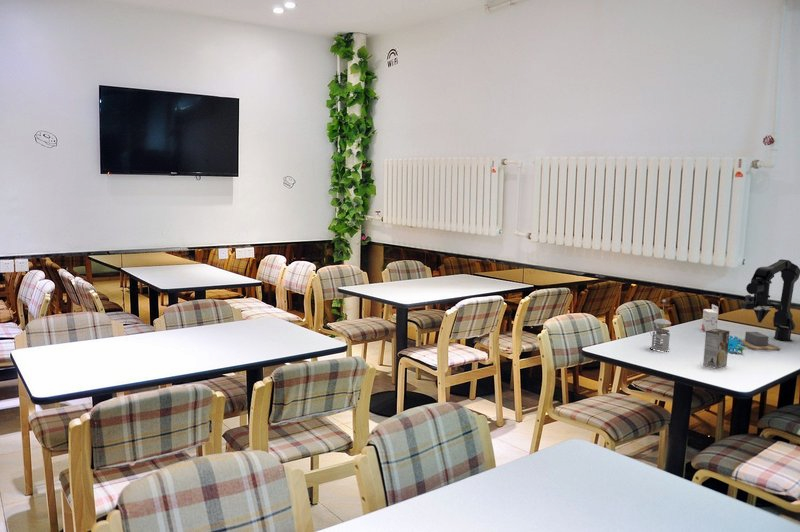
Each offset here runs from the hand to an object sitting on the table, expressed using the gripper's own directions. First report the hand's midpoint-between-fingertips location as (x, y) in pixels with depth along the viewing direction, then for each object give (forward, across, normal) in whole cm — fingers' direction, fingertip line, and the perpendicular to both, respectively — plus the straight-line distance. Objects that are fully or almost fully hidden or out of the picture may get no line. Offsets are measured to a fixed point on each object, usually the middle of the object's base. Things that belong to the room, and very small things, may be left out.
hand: (759, 322), depth 334 cm
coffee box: (+11, +43, +39) cm, 59 cm away
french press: (+11, +57, +12) cm, 59 cm away
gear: (+12, +22, +15) cm, 29 cm away
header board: (+12, +2, +2) cm, 12 cm away
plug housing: (+11, +2, +2) cm, 11 cm away
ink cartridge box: (+12, +11, -28) cm, 32 cm away
